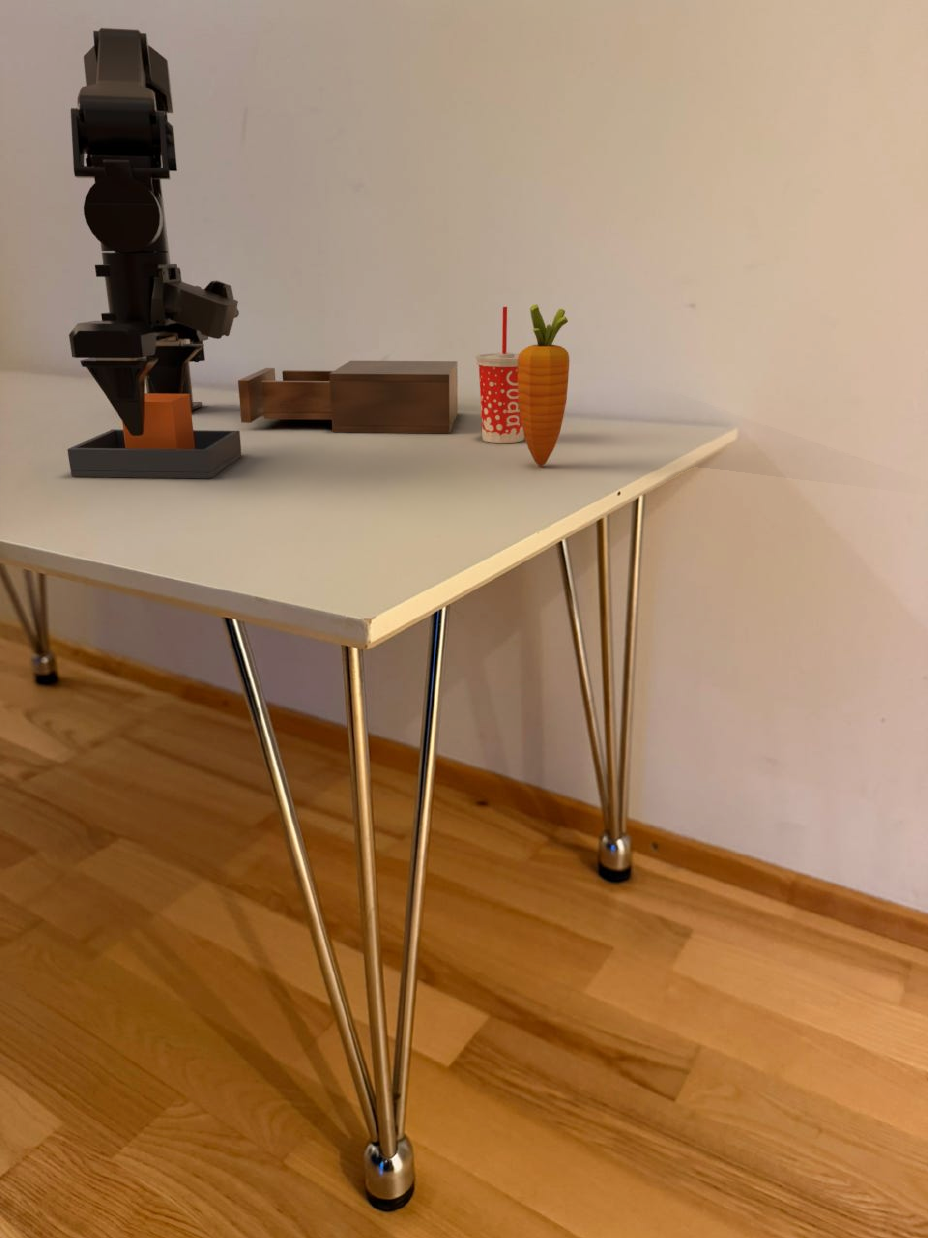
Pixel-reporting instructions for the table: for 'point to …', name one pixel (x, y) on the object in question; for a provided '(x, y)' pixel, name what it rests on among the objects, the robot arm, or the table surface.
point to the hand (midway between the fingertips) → (155, 426)
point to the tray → (154, 457)
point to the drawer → (285, 395)
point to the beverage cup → (500, 394)
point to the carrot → (543, 387)
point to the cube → (164, 423)
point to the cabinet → (394, 396)
